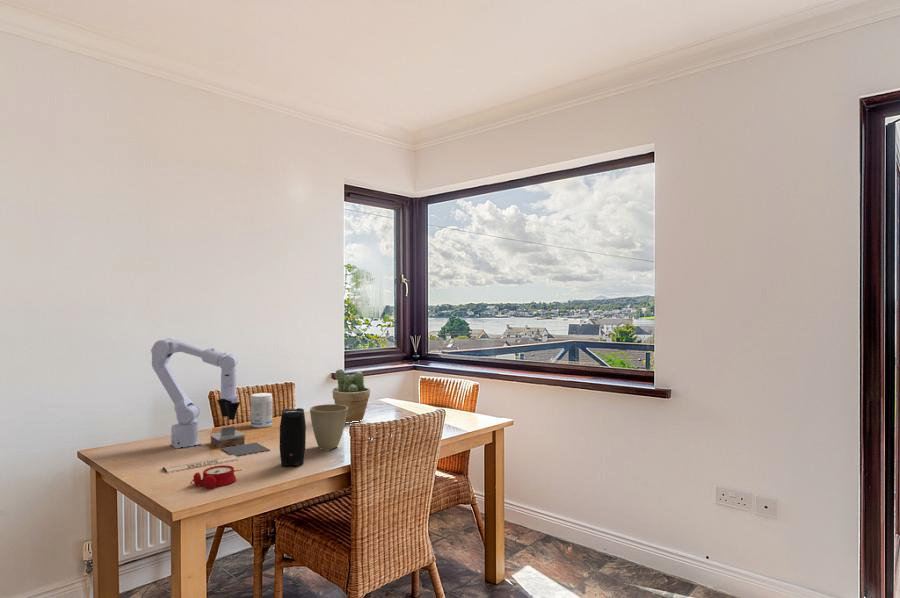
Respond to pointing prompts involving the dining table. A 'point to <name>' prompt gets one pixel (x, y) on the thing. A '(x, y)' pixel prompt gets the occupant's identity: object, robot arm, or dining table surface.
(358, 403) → the potted plant
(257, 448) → the dark gray board
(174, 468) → the newspaper
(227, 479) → the alarm clock
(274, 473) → the dining table surface
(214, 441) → the walnut box
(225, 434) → the lid
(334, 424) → the plant pot
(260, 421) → the supplement tub
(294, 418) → the portable speaker
